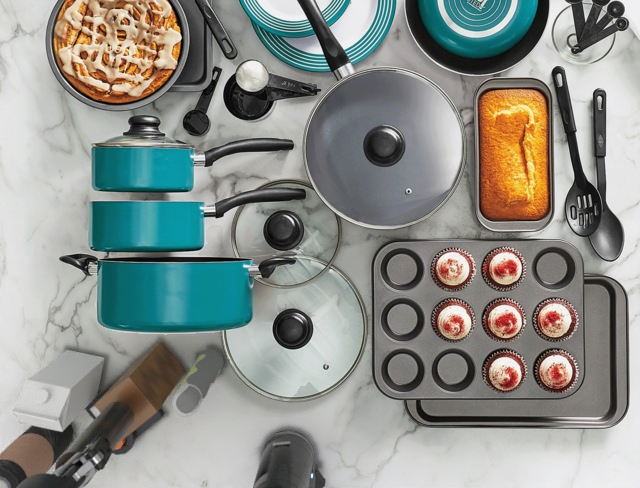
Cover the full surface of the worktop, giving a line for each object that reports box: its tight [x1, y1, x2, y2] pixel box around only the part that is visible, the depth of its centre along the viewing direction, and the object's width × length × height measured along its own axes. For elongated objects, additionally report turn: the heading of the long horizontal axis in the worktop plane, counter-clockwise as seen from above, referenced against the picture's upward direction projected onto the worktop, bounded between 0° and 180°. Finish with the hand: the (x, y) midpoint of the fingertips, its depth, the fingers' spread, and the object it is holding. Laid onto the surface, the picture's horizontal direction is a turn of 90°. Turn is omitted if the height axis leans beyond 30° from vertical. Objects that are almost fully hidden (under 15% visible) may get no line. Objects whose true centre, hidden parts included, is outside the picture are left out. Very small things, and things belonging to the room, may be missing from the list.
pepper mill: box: [54, 402, 134, 488], centre depth 93 cm, size 5×5×16 cm
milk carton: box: [10, 349, 106, 432], centre depth 113 cm, size 7×7×19 cm
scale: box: [84, 380, 165, 456], centre depth 121 cm, size 11×11×3 cm
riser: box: [94, 341, 187, 440], centre depth 113 cm, size 7×7×18 cm
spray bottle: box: [171, 348, 225, 418], centre depth 112 cm, size 5×5×20 cm
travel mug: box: [0, 423, 74, 488], centre depth 113 cm, size 8×8×20 cm
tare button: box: [115, 438, 126, 450], centre depth 119 cm, size 2×2×2 cm
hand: (88, 453), depth 90 cm, fingers closed on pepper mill, 5 cm apart
